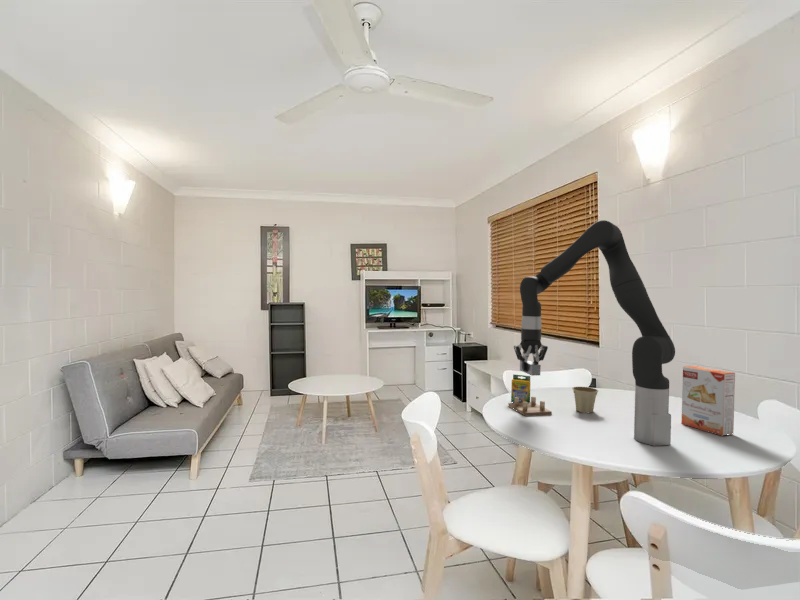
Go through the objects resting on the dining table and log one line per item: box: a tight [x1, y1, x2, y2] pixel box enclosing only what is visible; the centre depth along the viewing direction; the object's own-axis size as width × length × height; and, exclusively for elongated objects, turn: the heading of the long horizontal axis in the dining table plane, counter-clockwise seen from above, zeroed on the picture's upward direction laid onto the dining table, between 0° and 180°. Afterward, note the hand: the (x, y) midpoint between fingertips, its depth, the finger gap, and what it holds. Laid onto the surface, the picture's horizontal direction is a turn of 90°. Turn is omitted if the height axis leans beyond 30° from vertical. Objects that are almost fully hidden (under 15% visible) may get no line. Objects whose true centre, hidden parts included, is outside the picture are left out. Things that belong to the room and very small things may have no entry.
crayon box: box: [510, 374, 531, 403], centre depth 178 cm, size 7×3×12 cm, turn 64°
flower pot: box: [572, 386, 599, 414], centre depth 168 cm, size 9×9×9 cm
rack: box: [508, 396, 553, 416], centre depth 168 cm, size 14×11×4 cm
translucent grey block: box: [519, 359, 541, 377], centre depth 168 cm, size 10×4×4 cm, turn 10°
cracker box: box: [681, 365, 736, 436], centre depth 146 cm, size 14×6×21 cm, turn 21°
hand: (530, 371), depth 168 cm, fingers closed on translucent grey block, 3 cm apart
